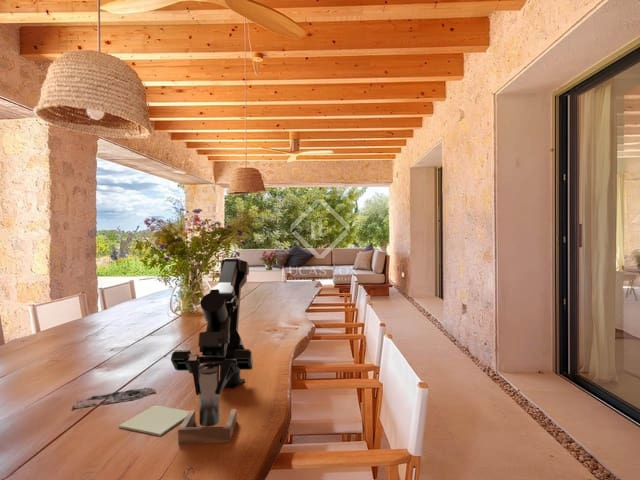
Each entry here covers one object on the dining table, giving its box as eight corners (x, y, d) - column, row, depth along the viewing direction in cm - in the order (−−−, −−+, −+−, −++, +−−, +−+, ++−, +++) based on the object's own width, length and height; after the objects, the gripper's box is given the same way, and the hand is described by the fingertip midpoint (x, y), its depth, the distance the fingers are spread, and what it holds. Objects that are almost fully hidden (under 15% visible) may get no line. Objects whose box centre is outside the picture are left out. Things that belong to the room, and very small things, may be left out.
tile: (154, 406, 113) (154, 405, 113) (193, 413, 109) (192, 411, 109) (119, 427, 101) (118, 425, 101) (160, 436, 97) (160, 433, 97)
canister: (206, 416, 103) (206, 362, 102) (223, 419, 101) (223, 364, 101) (194, 424, 98) (194, 368, 98) (212, 428, 97) (211, 371, 96)
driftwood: (156, 390, 125) (156, 383, 125) (157, 399, 119) (157, 391, 119) (75, 402, 117) (75, 395, 117) (72, 412, 111) (71, 404, 111)
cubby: (190, 422, 104) (190, 410, 104) (236, 421, 105) (236, 409, 104) (178, 443, 94) (178, 429, 94) (229, 442, 95) (229, 428, 94)
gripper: (172, 316, 102) (157, 379, 92) (251, 316, 103) (245, 378, 93) (182, 340, 111) (169, 400, 100) (255, 339, 111) (250, 399, 101)
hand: (207, 394), depth 98 cm, fingers closed on canister, 4 cm apart
